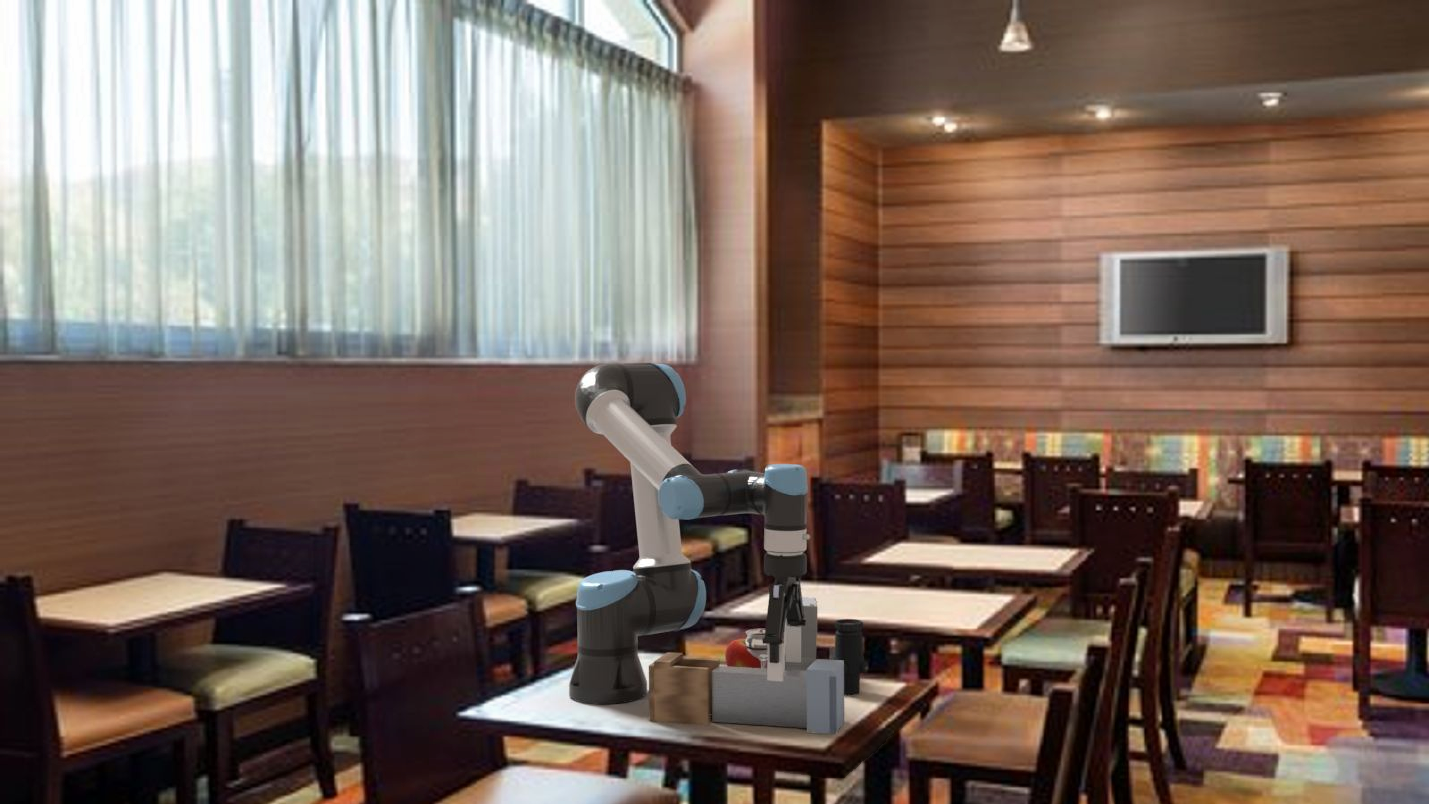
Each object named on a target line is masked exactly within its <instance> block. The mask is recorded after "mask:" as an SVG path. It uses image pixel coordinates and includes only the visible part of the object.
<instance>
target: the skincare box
mask: <svg viewBox="0 0 1429 804" xmlns="http://www.w3.org/2000/svg"><path fill="white" fill-rule="evenodd" d="M802 603H803V611H804V619H803V620H806V625H805V626H802V625H799V626H801V662H800V663H797V662H786V626H790V625H788V623H787V619H786V622H785V627H784V633H783V637H784V638H783V643H784V670H800V671H806V669H807V668H808V667H809V666H810V665H811V664H812V663H813V662H814V661H815V660H816V659H817V641H818V640H817V639H818V604H817V603H818V601H817V598H816V597H808V596H802Z"/></svg>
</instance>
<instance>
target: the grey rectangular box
mask: <svg viewBox="0 0 1429 804" xmlns="http://www.w3.org/2000/svg"><path fill="white" fill-rule="evenodd" d="M711 718H712V721H711V722H714V723H724V724H725V723H728V724H741V725H756V726H769V727H771V726H773V727H784V728H798V729H800V728H801V729H807V678H806V671H800V670H784V678H783V682H781V681H769V680H767V668H766V667H765V668H747V667H730V666H727V665H726V666H725V665H720V666H718V667H717V668H716V669H714V670H713V671H712V717H711Z"/></svg>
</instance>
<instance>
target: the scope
mask: <svg viewBox="0 0 1429 804" xmlns="http://www.w3.org/2000/svg"><path fill="white" fill-rule="evenodd" d="M863 627H864V622H863V621H862V620H860V619H855V618H854V619H853V618H846V619H845V618H842V619H838V620H836V621H835V622H834V628H835V629H836V631H835V636H834V638H835V640H834V647H833V646H832V647H831V646H829V658H825V660H843V661H844V696H857V695H860V694H861V684H860V683H861V681H860V680H861V679H860V677H861V674H867V673H868V672H869V669H870V666H869V663H868V661H865V656H864V640H863V639H864V637H863V631H862V629H863Z"/></svg>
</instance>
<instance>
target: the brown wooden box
mask: <svg viewBox="0 0 1429 804" xmlns="http://www.w3.org/2000/svg"><path fill="white" fill-rule="evenodd" d="M720 662H721V661H720V659H718V658H717V659H715V658H703V657H702V658H700V657H684V653H683V652H671V651H670V652H669V651H668V652H666V653H664V654H663V655H662V656H660V657H658V658H656V660H654V661H653V662H652V663H651V664H649V665H648V700H649V701H648V707H649V708H648V709H649V710H648V715H649V716H648V717H649V718H648V719H649V720H648V721H649V722H660V723H673V724H688V725H689V724H691V725H703V726H704V725H705V726H708V725H710V723H711V722H710V717H711V716H710V715H709V714H712V671H713V670H714V669H716V668H717V667H718V666H721V665H720V664H721V663H720Z"/></svg>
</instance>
